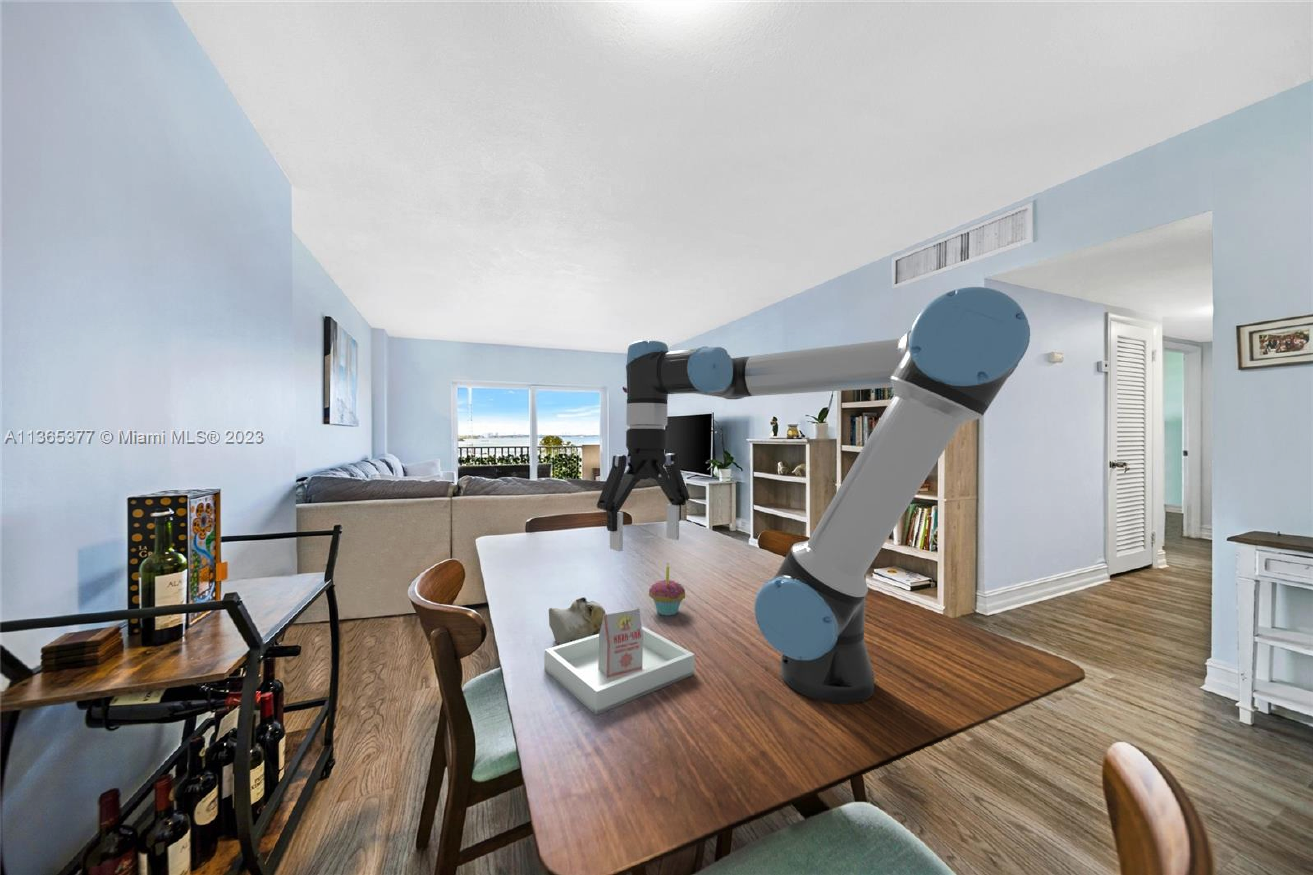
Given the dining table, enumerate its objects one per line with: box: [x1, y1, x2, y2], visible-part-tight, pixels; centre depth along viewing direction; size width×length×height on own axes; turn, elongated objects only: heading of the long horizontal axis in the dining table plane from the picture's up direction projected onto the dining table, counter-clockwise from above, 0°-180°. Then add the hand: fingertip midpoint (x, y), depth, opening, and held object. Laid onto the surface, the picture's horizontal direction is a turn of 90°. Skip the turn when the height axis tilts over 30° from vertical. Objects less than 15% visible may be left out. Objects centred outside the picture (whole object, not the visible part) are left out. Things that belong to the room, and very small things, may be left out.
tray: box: [543, 625, 696, 716], centre depth 84 cm, size 17×20×4 cm
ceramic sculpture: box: [548, 597, 607, 645], centre depth 97 cm, size 11×9×15 cm
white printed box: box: [598, 607, 643, 677], centre depth 84 cm, size 4×7×10 cm, turn 120°
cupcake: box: [648, 562, 686, 616], centre depth 113 cm, size 9×8×12 cm
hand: (645, 544), depth 88 cm, fingers open, 13 cm apart
